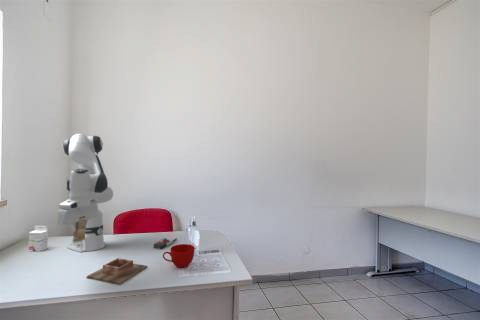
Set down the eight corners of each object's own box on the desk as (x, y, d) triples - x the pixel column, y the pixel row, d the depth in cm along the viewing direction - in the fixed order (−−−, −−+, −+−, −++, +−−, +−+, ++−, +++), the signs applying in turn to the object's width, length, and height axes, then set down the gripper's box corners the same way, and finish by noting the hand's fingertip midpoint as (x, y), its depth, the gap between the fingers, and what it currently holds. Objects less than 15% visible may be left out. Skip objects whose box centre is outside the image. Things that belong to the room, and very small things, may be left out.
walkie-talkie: (164, 250, 168) (177, 240, 187) (164, 243, 168) (177, 234, 187) (151, 249, 170) (166, 239, 189) (151, 242, 169) (166, 233, 189)
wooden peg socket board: (86, 278, 128) (86, 268, 128) (116, 262, 147) (117, 253, 147) (120, 284, 122) (120, 274, 122) (147, 267, 141) (147, 258, 141)
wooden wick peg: (73, 240, 128) (73, 216, 128) (79, 238, 132) (80, 215, 131) (78, 241, 127) (79, 217, 127) (85, 239, 130) (85, 215, 130)
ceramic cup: (161, 264, 146) (161, 246, 146) (191, 260, 153) (191, 242, 153) (164, 274, 134) (164, 254, 134) (196, 269, 141) (197, 250, 141)
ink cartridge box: (28, 251, 161) (28, 227, 161) (34, 248, 166) (34, 225, 166) (42, 251, 161) (42, 227, 161) (48, 248, 166) (48, 225, 166)
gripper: (92, 198, 140) (91, 224, 140) (55, 205, 120) (54, 235, 121) (101, 199, 138) (101, 225, 138) (65, 206, 118) (65, 236, 119)
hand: (79, 230), depth 129 cm, fingers closed on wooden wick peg, 3 cm apart
